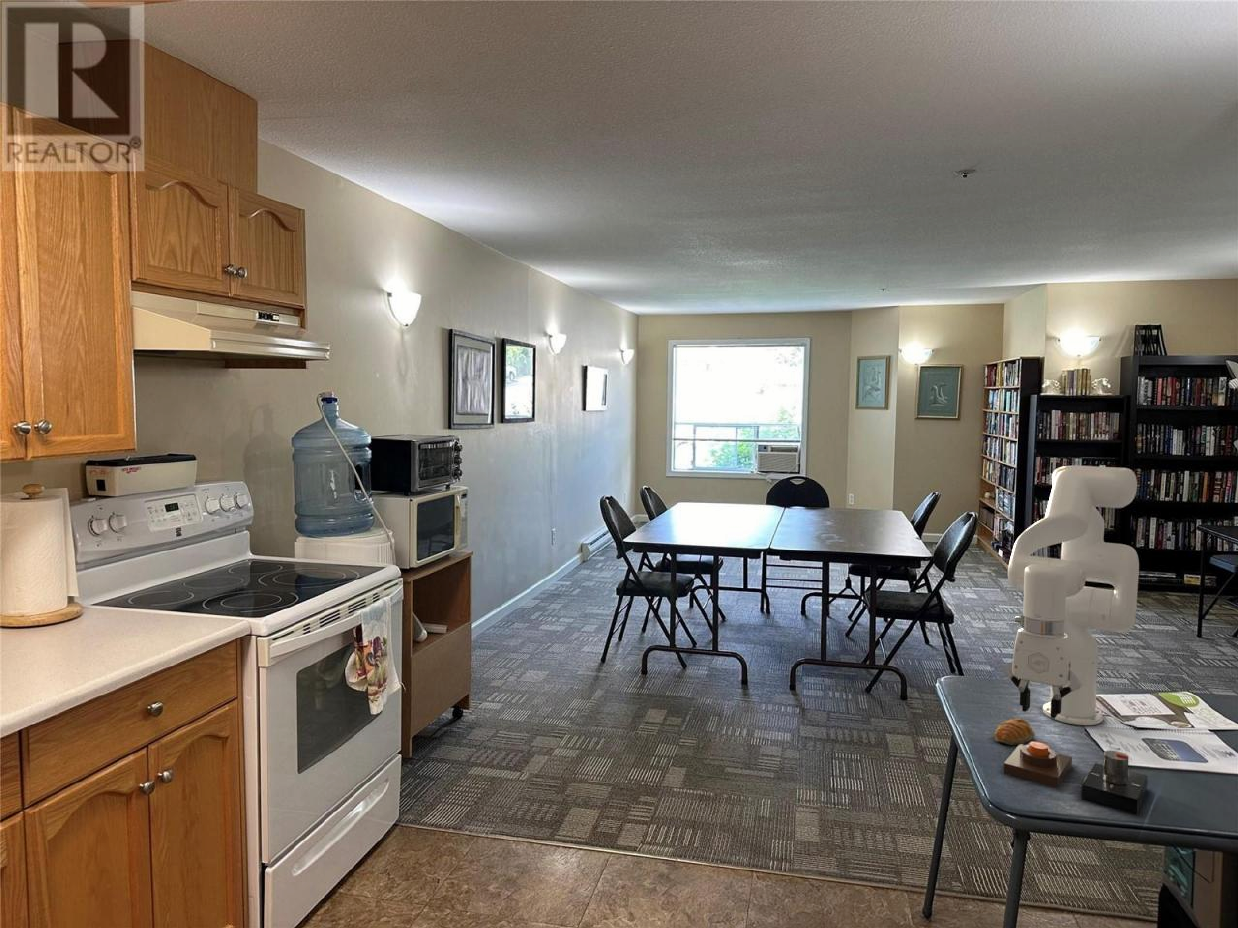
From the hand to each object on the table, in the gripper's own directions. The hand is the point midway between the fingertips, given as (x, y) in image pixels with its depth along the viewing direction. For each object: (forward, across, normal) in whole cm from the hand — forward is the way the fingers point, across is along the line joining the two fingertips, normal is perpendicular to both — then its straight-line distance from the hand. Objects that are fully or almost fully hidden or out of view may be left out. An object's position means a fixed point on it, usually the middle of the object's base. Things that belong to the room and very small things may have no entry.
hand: (1040, 711), depth 167 cm
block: (+12, 0, 0) cm, 12 cm away
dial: (+9, +14, -2) cm, 17 cm away
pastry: (+13, -8, +13) cm, 20 cm away
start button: (+9, 0, 0) cm, 9 cm away
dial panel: (+12, +14, -2) cm, 19 cm away
